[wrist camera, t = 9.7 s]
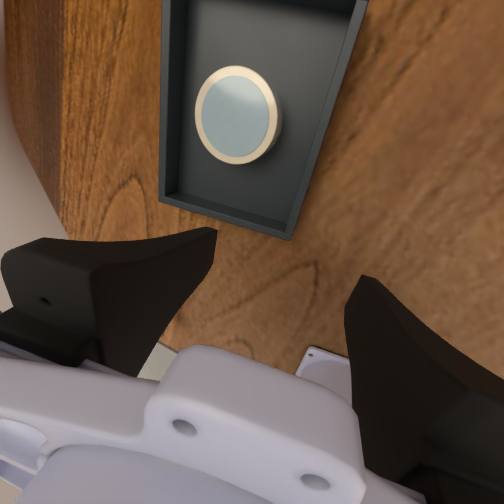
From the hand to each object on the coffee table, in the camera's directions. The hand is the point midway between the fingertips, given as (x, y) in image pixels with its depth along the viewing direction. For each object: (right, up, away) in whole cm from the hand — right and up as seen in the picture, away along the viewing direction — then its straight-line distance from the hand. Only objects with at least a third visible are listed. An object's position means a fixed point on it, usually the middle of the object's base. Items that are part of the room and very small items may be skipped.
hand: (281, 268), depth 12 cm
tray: (-2, +10, +6) cm, 12 cm away
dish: (-2, +10, +5) cm, 12 cm away
